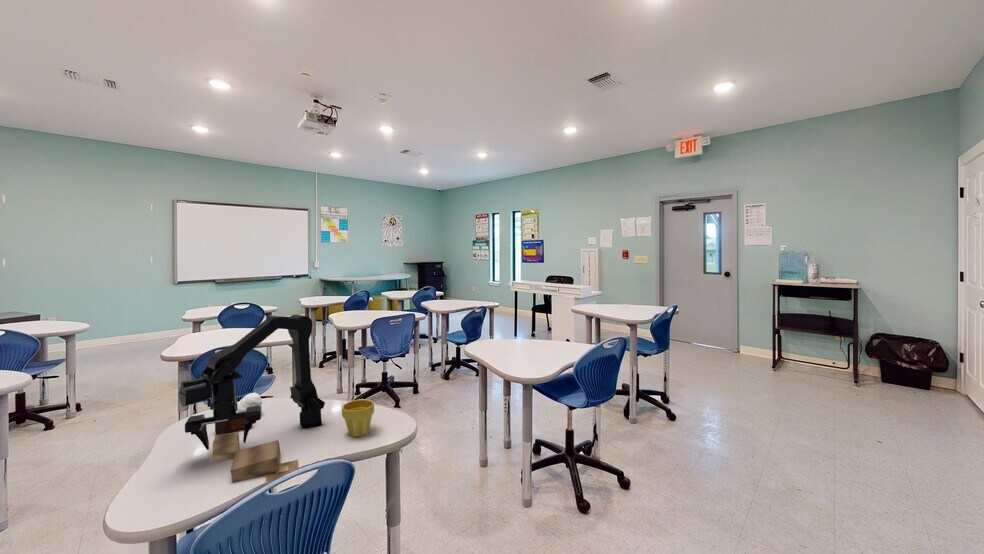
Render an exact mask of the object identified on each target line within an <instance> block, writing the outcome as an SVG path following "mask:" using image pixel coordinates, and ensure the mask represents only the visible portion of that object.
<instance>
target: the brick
mask: <svg viewBox="0 0 984 554" xmlns="http://www.w3.org/2000/svg"><path fill="white" fill-rule="evenodd" d="M245 420H246V418H242V419H236V420H230V421H225V422H219V423H214V431H215V436H217V435H223V434H228V433H234V432H241V431H242V432H244V426H245ZM252 427H253V424H252V425H251V428H252ZM251 428H250V429H251Z"/></svg>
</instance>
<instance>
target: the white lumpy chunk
mask: <svg viewBox="0 0 984 554" xmlns="http://www.w3.org/2000/svg"><path fill="white" fill-rule="evenodd" d="M262 404H263V401H262V398H261V395H260V394H259V393H257V392H251V393H248V394H246V395H244V396H243V397H242V398H241V399H240V400H239V402H237V409H238V410H237V411H236V413H239V412H245V411H246V409H247V407H253V406H260V407H261V408H262Z"/></svg>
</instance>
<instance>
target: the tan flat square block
mask: <svg viewBox="0 0 984 554" xmlns="http://www.w3.org/2000/svg"><path fill="white" fill-rule="evenodd" d="M280 463H281V447H280V441H279V439H277V440H274V441H269V442H266V443H263V444H259V445H255V446H250V447H248V448H244V449H239V451H236V453H235V457H234V458H233V460H232V465H231V467H230V469H229V471H230V475H231V480H232V483H237V482H241V481H247V480H251V479H256V478H259V477H263V476H266V474H269V473H273V472H276V471H279V466H280Z"/></svg>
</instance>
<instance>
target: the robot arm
mask: <svg viewBox="0 0 984 554" xmlns="http://www.w3.org/2000/svg"><path fill="white" fill-rule="evenodd" d="M278 329H279V330H280V329H283V330H287V331H288V334H289V337H290V339H291V340H292V343H293V353H294V355H293V356H294V357H293V358H294V367H295V369H294V370H295V384H294V386H290V387H289V390H290V397H289V398H290V399H292V401H293V402H294V403H295V404H297V406H298V408H300V409H301V410H300V412H299V426H300V427H301V429H302V430H306V429H307V430H308V429H313V428H316V427H322V426H323V423H322V409H324V407H325V404H326V402H325V401H324V400H322V399H321V398H319V396H318V392H317V388H316V386H315V383H313V380H312V373H311V371H312V370H311V359H310V358H311V357H310V356H311V355H310V346H309V345H310V341H309V340H310V337H311V335H312V334H313V333H312V332H313V320H312V318H310V317H309V316H307V315H302V314H298V313H296V314H291V315H290V316H281V315H280V316H279V315H278V316H277V315H269V316H268V317H267V318H266V319H265V320H264V321H263V322H261V323H260V324H258V325H257V326H256V327H255V328H253V329H252V330H251V331H249V332H248V333H246V334H245V335H244V336H243V337H241V339H239V340H237V342H235V343H234V344H232V345H230V346H227V347H225V348H224V347H223V348H222V349H221V350H218V351H217V352H215V353H213V354H212V355H211V356H209V358H208V359H207V365H206V367H205V368H204V369H203V371H202V372H201V373H200V375H199V378H194V379H192V380H190V379H189V380H183V381H181V382H180V386H179V391H178V392H177V393H178V400H179V403H180V405H181V407H188V406H191V405H195V404H199V403H203V402H206V401H208V400H209V399H210V401H209V403H210V404H209V409H210V411H212V415H213V416H209V417H206V415H205V414H197V415H192V416H189V417H188V419H186V421H185V424H184V433H186V434H189V433H190V435H195V436H196V438H197V439H199V440H200V441H201V443H202V445H203V446H204V448H205V449H206V450H207V451H209V449H210V442H209V440H210V439H209V435H208V430H207V425H211V424H215V423H219V422H225V421H230V420H236V419H242V418H246V420H245V426H244V430H243V438H242V441H243V444H246V441H247V438H248V435H249V431H250V428H252V427H251V425H252V426H253V425H255V424H256V423H257V421H261V419H262V415H263V414H262V412H263V411H262V406H261V407H260V406H253V407H247V409H246V411H245V412H239V413H236V411H237V410H238V409H237V404H238V399H237V398H236V386H235V385H236V383H235V380H236V379H241V378H243V374H240V372H238V371H237V370H236V369H237V368H238V367H239V366H240V365H241V363H242V362H243V360H244V358H245V357H246V356H247V355H248V354H249V353H251V351H252V350H254V349H255V348H256V347H257V346H259V344H261V343H262V342H263V341H264V340H266V339H267V338H268V337H269V336H271V335H273V334H274V333H275V332H276V331H277V330H278Z"/></svg>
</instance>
